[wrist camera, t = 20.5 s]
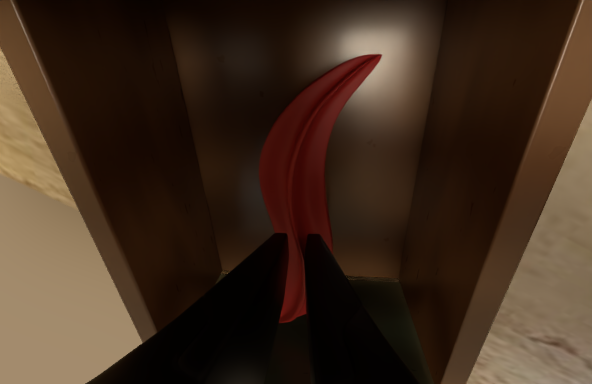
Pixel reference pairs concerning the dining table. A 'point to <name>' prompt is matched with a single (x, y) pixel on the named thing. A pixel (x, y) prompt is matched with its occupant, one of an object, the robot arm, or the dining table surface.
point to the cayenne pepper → (305, 168)
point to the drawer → (339, 156)
